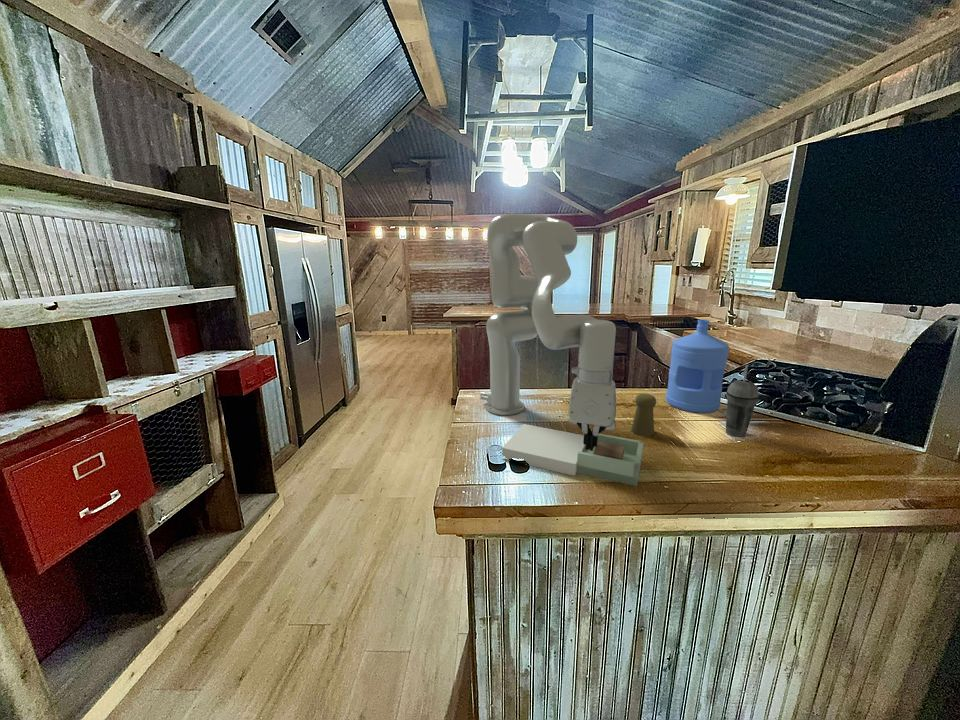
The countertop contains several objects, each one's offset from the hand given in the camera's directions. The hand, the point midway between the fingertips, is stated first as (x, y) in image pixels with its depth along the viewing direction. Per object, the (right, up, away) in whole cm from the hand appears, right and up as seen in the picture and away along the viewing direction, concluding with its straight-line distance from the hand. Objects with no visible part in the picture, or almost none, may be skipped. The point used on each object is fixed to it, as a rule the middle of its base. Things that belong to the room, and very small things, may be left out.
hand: (590, 447), depth 90 cm
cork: (+19, +1, +16) cm, 25 cm away
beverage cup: (+44, 0, +14) cm, 46 cm away
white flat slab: (-9, -3, +6) cm, 11 cm away
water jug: (+44, +6, +34) cm, 56 cm away
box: (+4, -4, -1) cm, 6 cm away
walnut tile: (+4, -2, -2) cm, 5 cm away
